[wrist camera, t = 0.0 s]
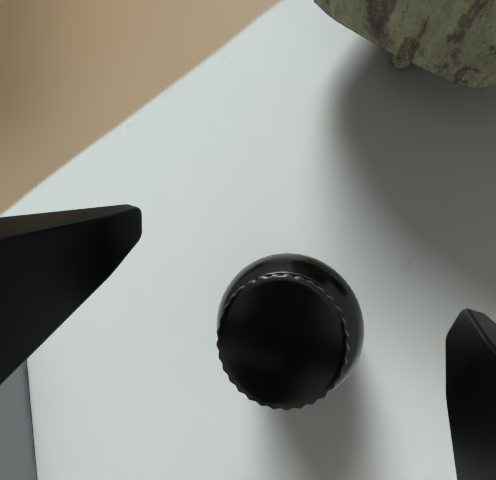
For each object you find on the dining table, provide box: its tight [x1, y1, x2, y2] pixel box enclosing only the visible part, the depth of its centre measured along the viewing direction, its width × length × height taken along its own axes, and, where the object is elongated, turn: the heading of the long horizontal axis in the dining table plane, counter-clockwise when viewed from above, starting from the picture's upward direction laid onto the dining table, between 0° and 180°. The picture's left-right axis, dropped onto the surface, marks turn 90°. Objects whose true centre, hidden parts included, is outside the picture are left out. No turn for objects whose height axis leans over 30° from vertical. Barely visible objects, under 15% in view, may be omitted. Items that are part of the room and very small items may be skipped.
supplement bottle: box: [217, 253, 364, 410], centre depth 18 cm, size 7×7×12 cm
